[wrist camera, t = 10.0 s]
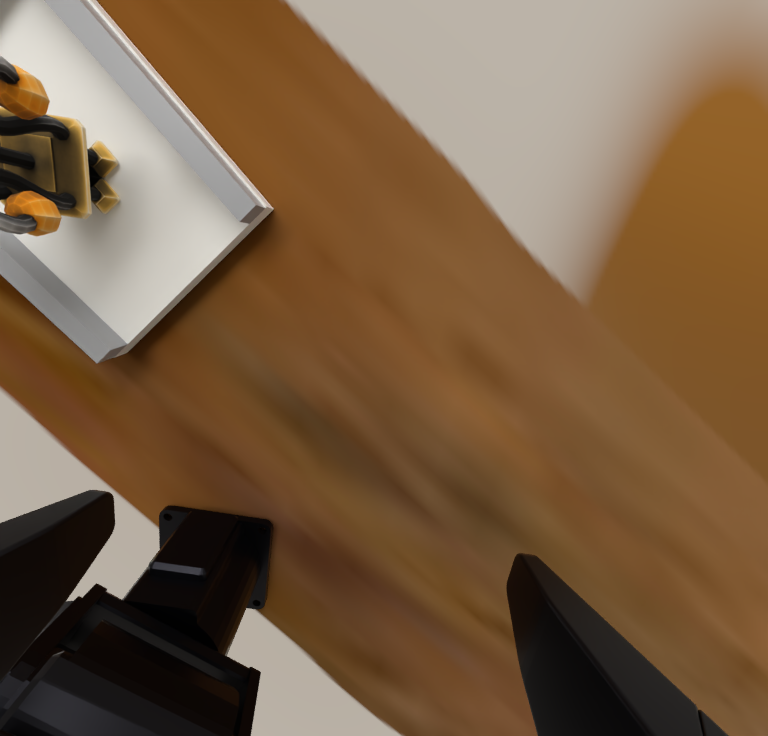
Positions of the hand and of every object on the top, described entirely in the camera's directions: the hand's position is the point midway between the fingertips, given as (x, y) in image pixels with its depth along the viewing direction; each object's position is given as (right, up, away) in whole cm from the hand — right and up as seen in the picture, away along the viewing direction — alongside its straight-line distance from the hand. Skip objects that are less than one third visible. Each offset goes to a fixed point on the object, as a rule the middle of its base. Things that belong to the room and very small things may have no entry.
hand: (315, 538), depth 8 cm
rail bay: (-12, +13, +9) cm, 20 cm away
